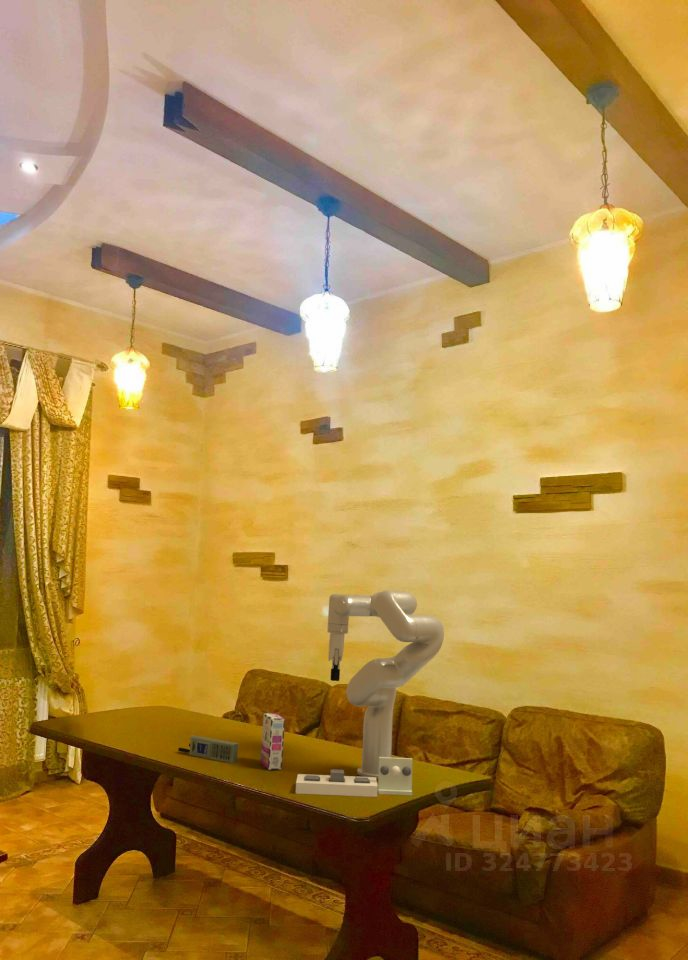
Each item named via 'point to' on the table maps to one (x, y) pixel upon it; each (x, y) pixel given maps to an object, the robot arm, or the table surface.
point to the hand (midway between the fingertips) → (334, 680)
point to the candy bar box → (272, 741)
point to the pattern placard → (395, 776)
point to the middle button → (337, 775)
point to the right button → (361, 780)
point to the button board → (336, 786)
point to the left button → (311, 778)
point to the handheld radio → (212, 749)
